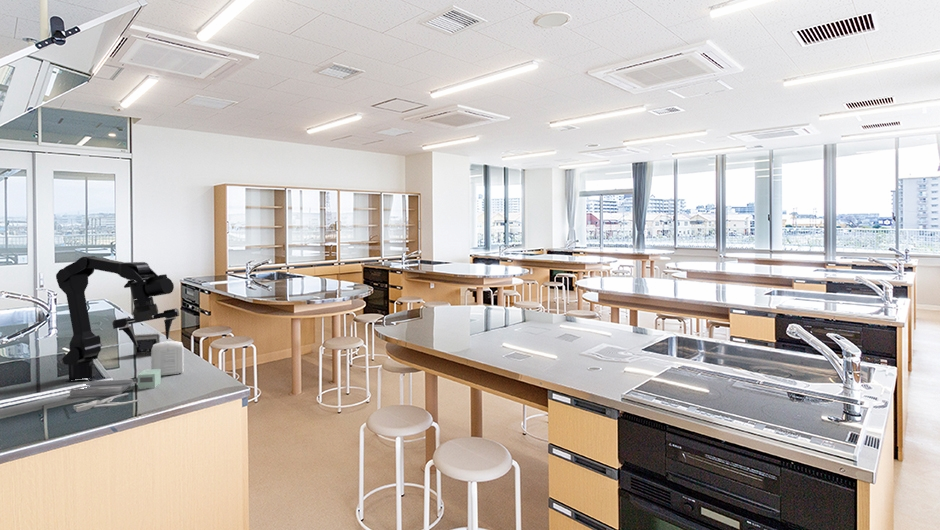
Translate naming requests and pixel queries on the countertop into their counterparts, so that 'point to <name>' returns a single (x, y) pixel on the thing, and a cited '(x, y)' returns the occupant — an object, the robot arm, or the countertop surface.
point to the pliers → (96, 403)
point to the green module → (149, 378)
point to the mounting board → (102, 388)
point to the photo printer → (168, 357)
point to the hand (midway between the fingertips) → (152, 342)
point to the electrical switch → (145, 343)
